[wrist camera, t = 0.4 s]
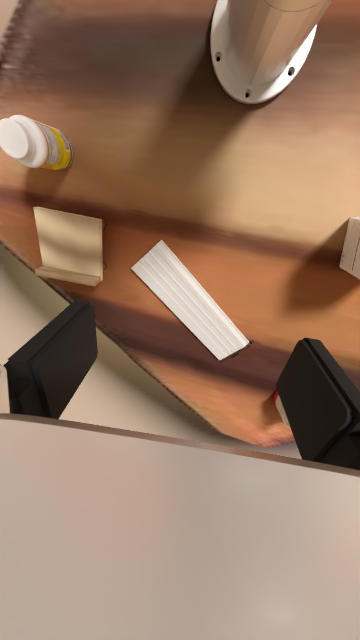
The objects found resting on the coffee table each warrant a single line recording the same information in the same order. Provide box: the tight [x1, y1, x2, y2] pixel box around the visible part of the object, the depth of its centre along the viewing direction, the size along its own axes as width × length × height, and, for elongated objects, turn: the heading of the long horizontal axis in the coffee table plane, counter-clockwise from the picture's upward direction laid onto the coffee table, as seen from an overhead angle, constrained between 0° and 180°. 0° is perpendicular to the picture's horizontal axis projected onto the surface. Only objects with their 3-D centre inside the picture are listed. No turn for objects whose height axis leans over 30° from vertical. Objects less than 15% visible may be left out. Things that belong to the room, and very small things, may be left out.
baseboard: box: [131, 240, 254, 363], centre depth 48 cm, size 30×3×10 cm
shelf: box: [33, 207, 107, 286], centre depth 40 cm, size 11×11×7 cm
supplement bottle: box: [0, 115, 73, 170], centre depth 32 cm, size 6×6×10 cm
